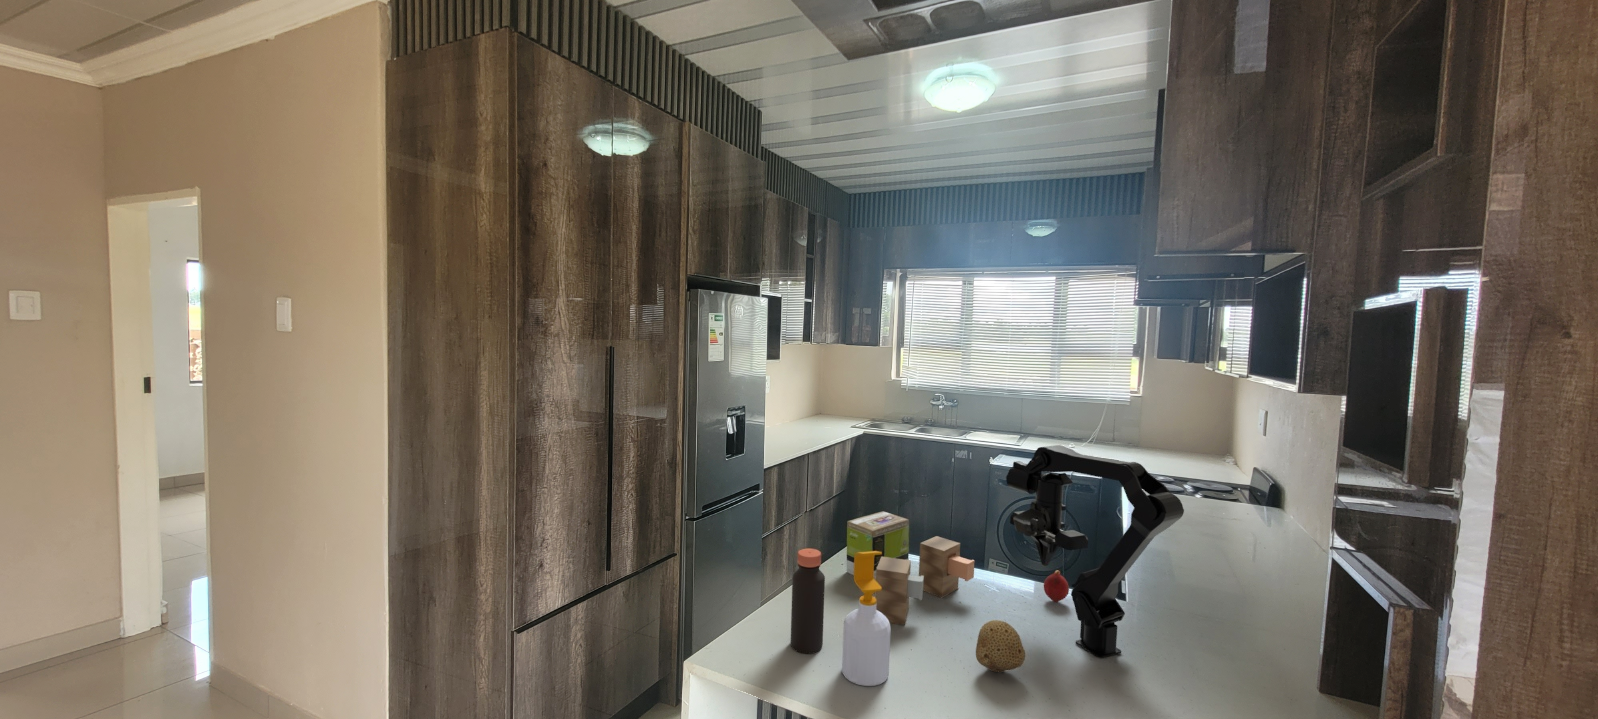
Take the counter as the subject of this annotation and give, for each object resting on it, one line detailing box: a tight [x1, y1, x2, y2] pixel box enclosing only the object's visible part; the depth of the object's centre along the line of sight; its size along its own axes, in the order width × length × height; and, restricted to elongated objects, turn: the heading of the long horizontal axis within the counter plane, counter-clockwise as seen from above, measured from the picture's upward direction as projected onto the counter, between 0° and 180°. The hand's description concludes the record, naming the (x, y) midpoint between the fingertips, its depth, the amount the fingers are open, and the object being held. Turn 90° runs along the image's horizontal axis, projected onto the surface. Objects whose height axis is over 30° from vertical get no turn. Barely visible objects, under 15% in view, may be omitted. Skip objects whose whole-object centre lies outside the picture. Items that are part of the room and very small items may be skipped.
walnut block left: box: [874, 557, 912, 626], centre depth 140 cm, size 7×8×12 cm
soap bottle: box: [841, 551, 892, 687], centre depth 116 cm, size 9×9×25 cm
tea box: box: [846, 510, 910, 581], centre depth 165 cm, size 15×10×15 cm, turn 130°
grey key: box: [907, 574, 924, 601], centre depth 139 cm, size 8×3×4 cm, turn 74°
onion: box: [1043, 569, 1070, 603], centre depth 150 cm, size 6×6×8 cm
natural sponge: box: [975, 619, 1026, 673], centre depth 118 cm, size 9×9×10 cm
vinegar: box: [790, 547, 826, 654], centre depth 125 cm, size 7×7×20 cm
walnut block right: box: [918, 535, 961, 598], centre depth 155 cm, size 7×8×12 cm
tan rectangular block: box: [947, 554, 976, 582], centre depth 152 cm, size 8×3×4 cm, turn 46°
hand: (1044, 565), depth 140 cm, fingers closed
